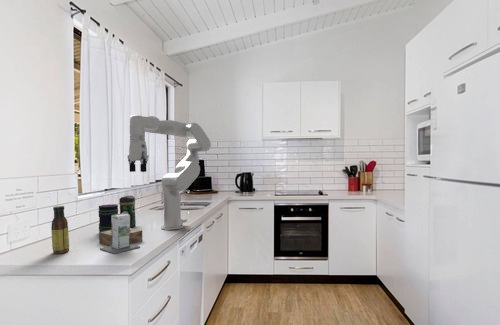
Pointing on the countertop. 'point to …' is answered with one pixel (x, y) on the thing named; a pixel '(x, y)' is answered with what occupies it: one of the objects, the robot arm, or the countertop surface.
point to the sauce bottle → (60, 231)
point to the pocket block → (107, 236)
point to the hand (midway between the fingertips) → (137, 171)
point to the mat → (115, 251)
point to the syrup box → (120, 231)
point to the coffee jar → (128, 208)
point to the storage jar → (106, 216)
